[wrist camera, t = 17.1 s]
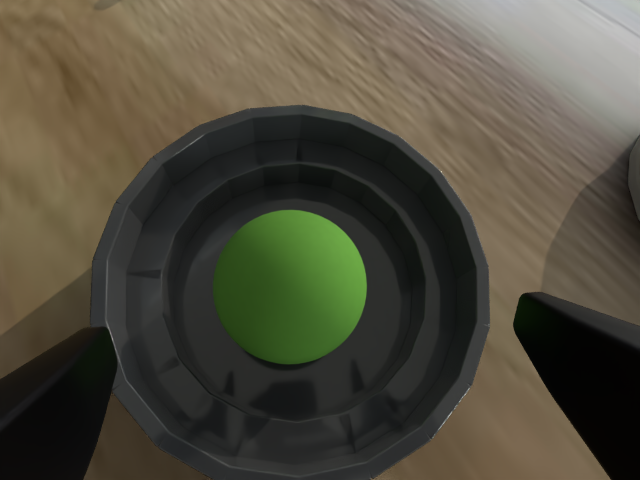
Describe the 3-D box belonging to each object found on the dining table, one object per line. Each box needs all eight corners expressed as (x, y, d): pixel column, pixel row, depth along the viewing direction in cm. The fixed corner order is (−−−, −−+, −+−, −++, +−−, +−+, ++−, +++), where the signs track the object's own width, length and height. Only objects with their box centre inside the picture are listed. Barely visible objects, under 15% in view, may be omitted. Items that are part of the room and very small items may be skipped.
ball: (330, 372, 19) (332, 412, 12) (212, 320, 19) (157, 333, 13) (378, 254, 20) (404, 233, 13) (265, 206, 20) (237, 164, 14)
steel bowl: (486, 428, 18) (547, 440, 14) (132, 505, 16) (80, 546, 12) (405, 146, 24) (431, 95, 20) (132, 170, 21) (97, 118, 17)
